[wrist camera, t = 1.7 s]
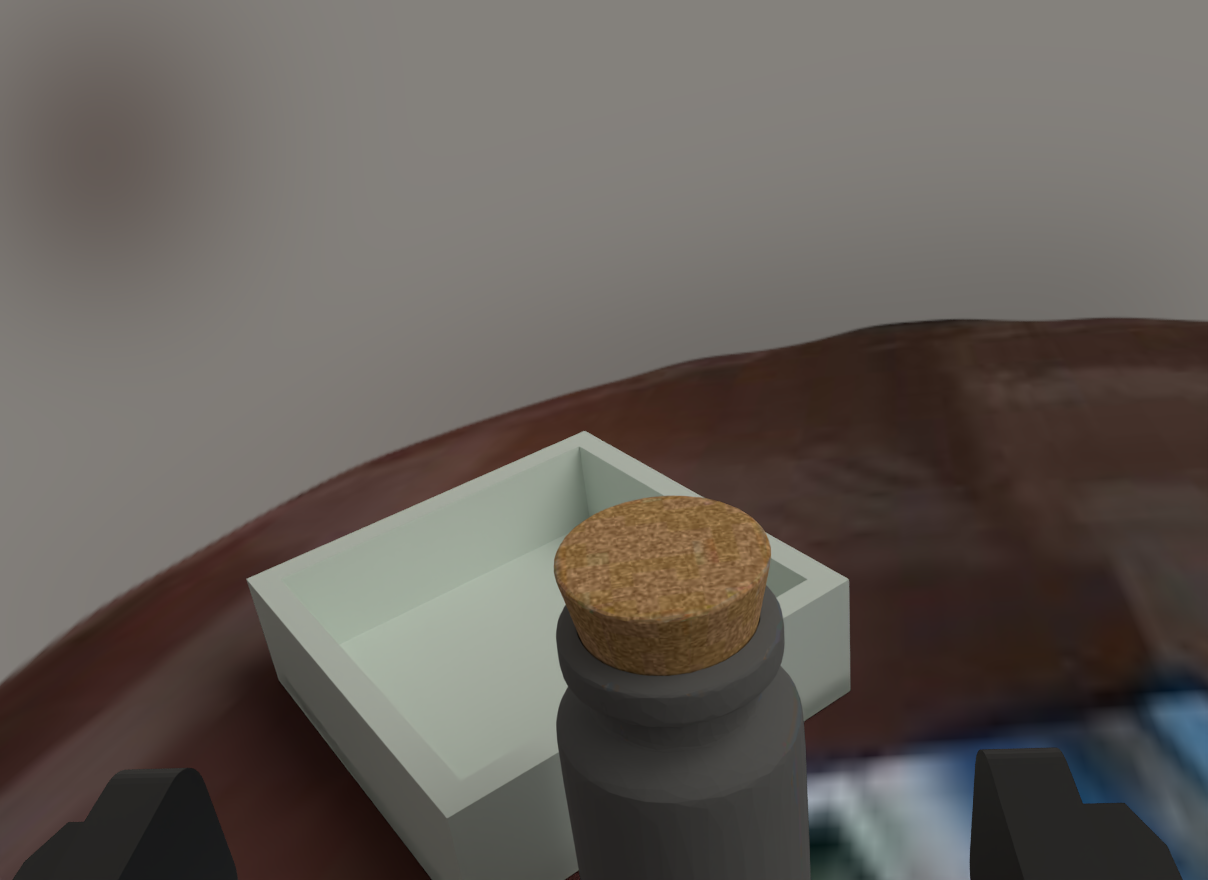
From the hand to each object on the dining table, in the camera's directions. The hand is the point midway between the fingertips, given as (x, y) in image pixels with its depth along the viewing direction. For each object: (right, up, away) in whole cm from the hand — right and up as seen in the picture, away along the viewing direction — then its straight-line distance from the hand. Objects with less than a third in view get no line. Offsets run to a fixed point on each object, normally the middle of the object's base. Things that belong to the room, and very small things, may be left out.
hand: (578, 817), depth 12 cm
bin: (-2, -6, +32) cm, 33 cm away
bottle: (+3, -12, +20) cm, 23 cm away
